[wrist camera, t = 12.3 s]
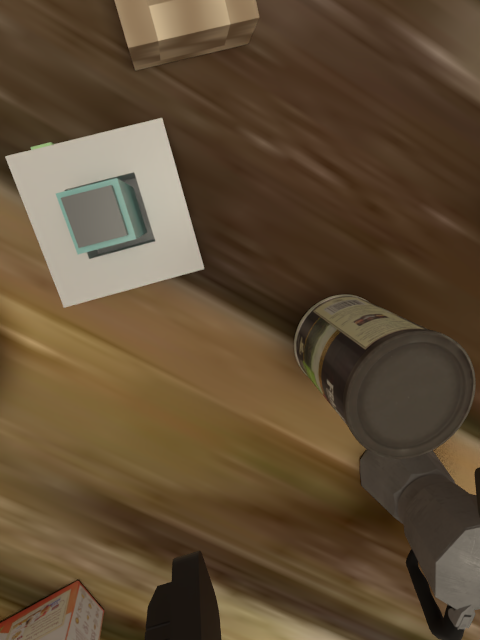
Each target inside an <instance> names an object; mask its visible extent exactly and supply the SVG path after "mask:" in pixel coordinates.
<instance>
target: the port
mask: <svg viewBox="0 0 480 640" xmlns="http://www.w3.org/2000/svg"><path fill="white" fill-rule="evenodd" d="M5 157H6V160H7V163H8V165H9V168H10V170H11V173H12V175H13V178H14V180H15V183H16V186H17V188H18V191H19V193H20V196H21V198H22V201H23V204H24V206H25V209H26V211H27V214H28V216H29V219H30V221H31V224H32V227H33V229H34V232H35V234H36V237H37V239H38V242H39V245H40V247H41V250H42V252H43V255H44V257H45V260H46V263H47V265H48V268H49V270H50V273H51V275H52V278H53V280H54V283H55V286H56V288H57V291H58V293H59V296H60V298H61V301H62V304H63V306H64V308H65V307H68V306H72V305H76V304H79V303H83V302H87V301H90V300H94V299H97V298H101V297H105V296H108V295H112V294H116V293H119V292H123V291H126V290H130V289H134V288H137V287H141V286H144V285H148V284H152V283H155V282H159V281H163V280H166V279H170V278H173V277H177V276H181V275H184V274H188V273H192V272H195V271H199V270H202V269H204V265H203V262H202V258H201V255H200V251H199V248H198V244H197V240H196V237H195V233H194V230H193V226H192V223H191V219H190V216H189V212H188V208H187V205H186V201H185V198H184V194H183V191H182V187H181V183H180V180H179V176H178V173H177V169H176V166H175V162H174V158H173V155H172V151H171V148H170V144H169V141H168V137H167V133H166V130H165V126H164V123H163V119H162V118H159V119H155V120H151V121H147V122H143V123H139V124H135V125H131V126H127V127H123V128H119V129H115V130H111V131H106V132H102V133H98V134H94V135H90V136H86V137H82V138H78V139H74V140H70V141H66V142H62V143H58V144H53V143H52V142H50V143H46V144H42V145H38V146H34V147H31V150H29V151H25V152H21V153H17V154H13V155H9V156H5ZM115 178H118V179H120V180H121V181H123V182H125V183H127V184H128V185H130V186H132V187H133V188H134V191H135V195H136V198H137V201H138V204H139V207H140V211H141V214H142V217H143V220H144V224H145V227H146V230H147V233H145V234H144V235H142V236H141V237H139V238H137V239H135V240H131V241H127V242H123V243H120V244H116V245H112V246H108V247H104V248H101V249H97V250H93V251H89V252H86V253H82V254H77V251H76V249H75V246H74V243H73V240H72V238H71V235H70V232H69V229H68V227H67V224H66V221H65V218H64V216H63V213H62V210H61V207H60V205H59V202H58V199H57V196H56V193H60V192H64V191H68V190H71V189H75V188H79V187H83V186H87V185H91V184H95V183H99V182H103V181H107V180H111V179H115Z"/></svg>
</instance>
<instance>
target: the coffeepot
mask: <svg viewBox="0 0 480 640" xmlns="http://www.w3.org/2000/svg"><path fill="white" fill-rule="evenodd" d="M360 476H361V486H362V487H363V488H364V489H366V490H367V491H368V492H369V493H370V494H371V495H372V496H373V497H374V498H375V499H376V500H377V501H378V502H379V503H380V504H381V505H382V506H383V507H384V508H385V509H386V510H387V511H388V512H389V513H390V514H391V515H392V516H393V517H395V518H396V519H397V520H398V521H400V522H401V523H403V524H404V531H405V535H406V537H407V539H408V541H409V544H410V546H411V548H412V549H411V551H410V553H409V555H408V557H407V560H406V565H407V568H408V570H409V573H410V576H411V579H412V582H413V585H414V588H415V590H416V593H417V596H418V598H419V601H420V603H421V606H422V609H423V612H424V615H425V618H426V621H427V623H428V626H429V629H430V630H431V632H432V634H433V635H435V636H436V637H437V638H438V639H441V640H461V639H462V637H463V633H464V630H465V628H469V627H470V625H471V623H472V620H473V618H474V616H475V612H474V610H477V609H480V517H479V513H478V505H477V495H472V494H469V493H468V492H466V491H465V490H463V489H462V488H461V487H459V486H458V485H456V484H455V482H454V480H453V479H452V477H451V476H450V474H449V473H448V471H447V470H446V469H445V467H444V466H443V464H442V463H441V462H440V460H439V459H438V457H437V456H436V454H435V453H434V452H433V450H432V451H430V452H428V453H425V454H423V455H420V456H416V457H411V458H405V459H393V458H386V457H382V456H379V455H377V454H374V453H372V452H371V451H369V450H366V451H365V453H364V455H363V457H362V458H361V459H360ZM418 562H419V564H420V566H421V568H422V570H423V572H424V574H425V576H426V578H427V580H428V582H429V584H430V586H431V588H432V590H433V592H434V595H435V597H436V598H438V599H440V600H441V601H443V602H445V603H447V604H448V605H447V608H446V611H445V615H444V618H443V616H442V614H441V611H440V609H439V607H438V606H437V604H436V602H435V600H434V598H433V596H432V594H431V592H430V588H429V584H428V582H427V580H426V578H425V577H424V575H423V574H422V572H421V571H420V569H419V567H418Z"/></svg>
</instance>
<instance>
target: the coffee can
mask: <svg viewBox="0 0 480 640" xmlns="http://www.w3.org/2000/svg"><path fill="white" fill-rule="evenodd" d="M294 352H295V357H296V360H297V362H298V364H299V366H300V368H301V369H302V371H303V372H304V373H305V374H306V375H307V376H308V377H309V378H310V379H311V381H312V382H313V383H314V384H315V385H316V387H317V388H318V389H319V391H320V392H321V393H322V394H323V396H324V397H325V398H326V399H327V401H328V402H329V403H330V404H331V406H332V407H333V408H334V409H335V410H336V412H337V413H338V414H339V415H340V417H341V418H342V419H343V420H344V422H345V423H346V424H347V425H348V427H349V429H350V431H351V432H352V434H353V435H354V437H355V438H356V439H357V441H358V442H359V443H360V444H361V445H362V446H364V447H365V448H366V449H367V450H369V451H371V452H372V453H374V454H377V455H379V456H382V457H386V458H393V459H405V458H411V457H416V456H420V455H423V454H425V453H428V452H430V451H432V450H434V449H436V448H437V447H438V446H440V445H441V444H443V443H444V442H446V441H447V440H448V439H449V438H450V437H451V436H452V435H453V434H454V433H455V432H456V431H457V430H458V429H459V427H460V426H461V425H462V423H463V422H464V420H465V418H466V417H467V415H468V413H469V410H470V408H471V405H472V402H473V398H474V394H475V373H474V368H473V365H472V362H471V360H470V358H469V356H468V354H467V353H466V351H465V350H464V349H463V348H462V347H461V345H460V344H458V343H457V342H456V341H454V340H453V339H451V338H450V337H448V336H446V335H444V334H441V333H439V332H436V331H432V330H428V329H426V328H424V327H422V326H419V325H417V324H415V323H413V322H411V321H409V320H406V319H404V318H402V317H400V316H398V315H396V314H394V313H391V312H389V311H387V310H385V309H383V308H381V307H378V306H376V305H374V304H372V303H370V302H368V301H367V300H365V299H363V298H361V297H358V296H354V295H347V294H343V295H336V296H332V297H328V298H326V299H324V300H322V301H320V302H318V303H317V304H315V305H314V306H313V307H311V308H310V309H309V310H308V312H307V313H306V314H305V315H304V316H303V318H302V320H301V321H300V323H299V325H298V327H297V330H296V333H295V338H294Z"/></svg>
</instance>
